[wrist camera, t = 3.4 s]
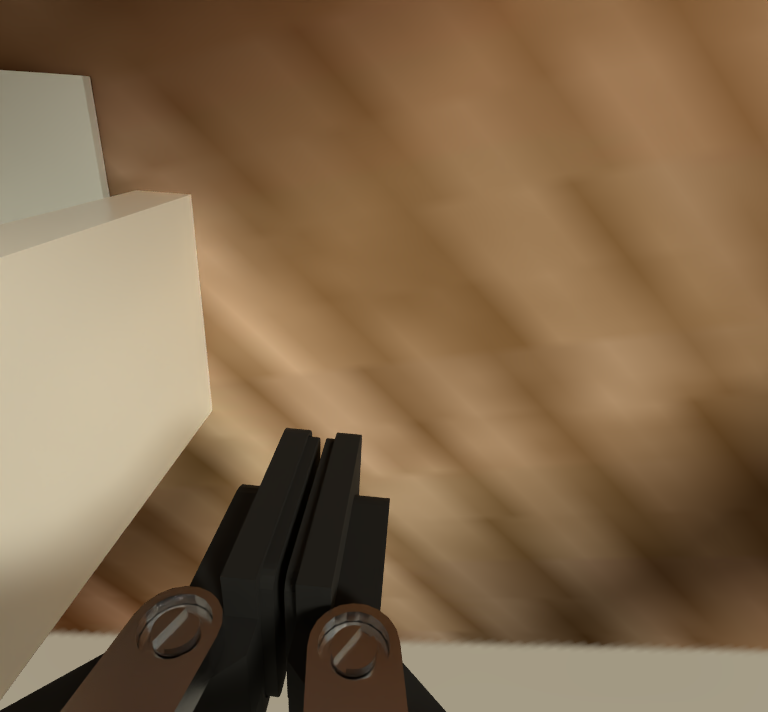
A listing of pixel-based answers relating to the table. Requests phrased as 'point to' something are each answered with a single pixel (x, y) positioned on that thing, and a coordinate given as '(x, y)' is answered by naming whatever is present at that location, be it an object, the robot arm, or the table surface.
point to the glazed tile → (89, 392)
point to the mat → (48, 144)
